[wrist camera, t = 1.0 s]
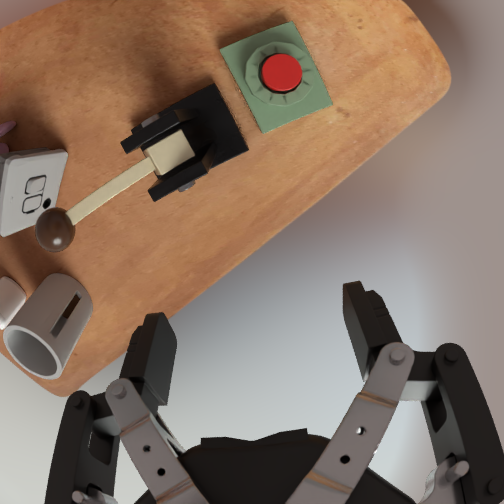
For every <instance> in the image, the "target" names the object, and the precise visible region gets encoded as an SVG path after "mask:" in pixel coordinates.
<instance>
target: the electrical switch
mask: <svg viewBox="0 0 504 504" xmlns="http://www.w3.org/2000/svg"><path fill="white" fill-rule="evenodd" d="M0 155H1V156H2V157H1V156H0V235H1V236H2V237H5V236H8V235H10V234H13V233H15V232H17V231H20V230H22V229H25V228H27V227H30V226H33V225H35V224H36V221H37V219H38V217H39V216H40V215H41V213H43V212H44V211H45V210H47V209H49V208H53V207H55V205H56V200H57V196H58V192H59V188H60V183H61V179H62V176H63V172H64V168H65V165H66V161H67V158H68V154H67V152H66V151H65V150H63V149H57V150H52V151H51V150H49V149H48V148H46V147H44V148H36V149H29V150H21V151H15V152H8V153H2V154H0Z"/></svg>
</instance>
